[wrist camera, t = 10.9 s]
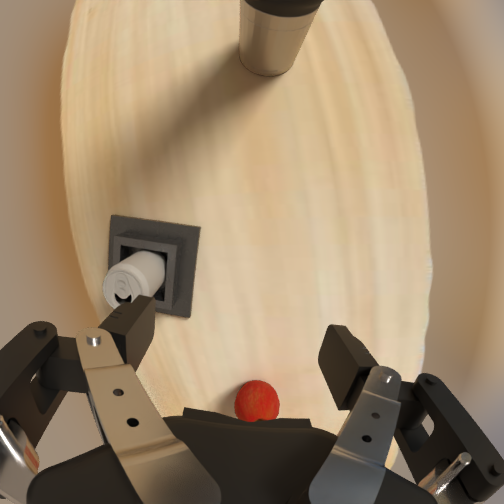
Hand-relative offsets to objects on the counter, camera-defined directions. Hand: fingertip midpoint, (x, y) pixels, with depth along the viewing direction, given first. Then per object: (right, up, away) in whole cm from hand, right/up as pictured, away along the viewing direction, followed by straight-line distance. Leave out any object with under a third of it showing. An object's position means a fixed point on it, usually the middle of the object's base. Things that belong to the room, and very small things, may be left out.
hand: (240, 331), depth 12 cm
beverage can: (-16, +1, +30) cm, 34 cm away
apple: (+1, -23, +37) cm, 43 cm away
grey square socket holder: (-16, +1, +31) cm, 35 cm away
